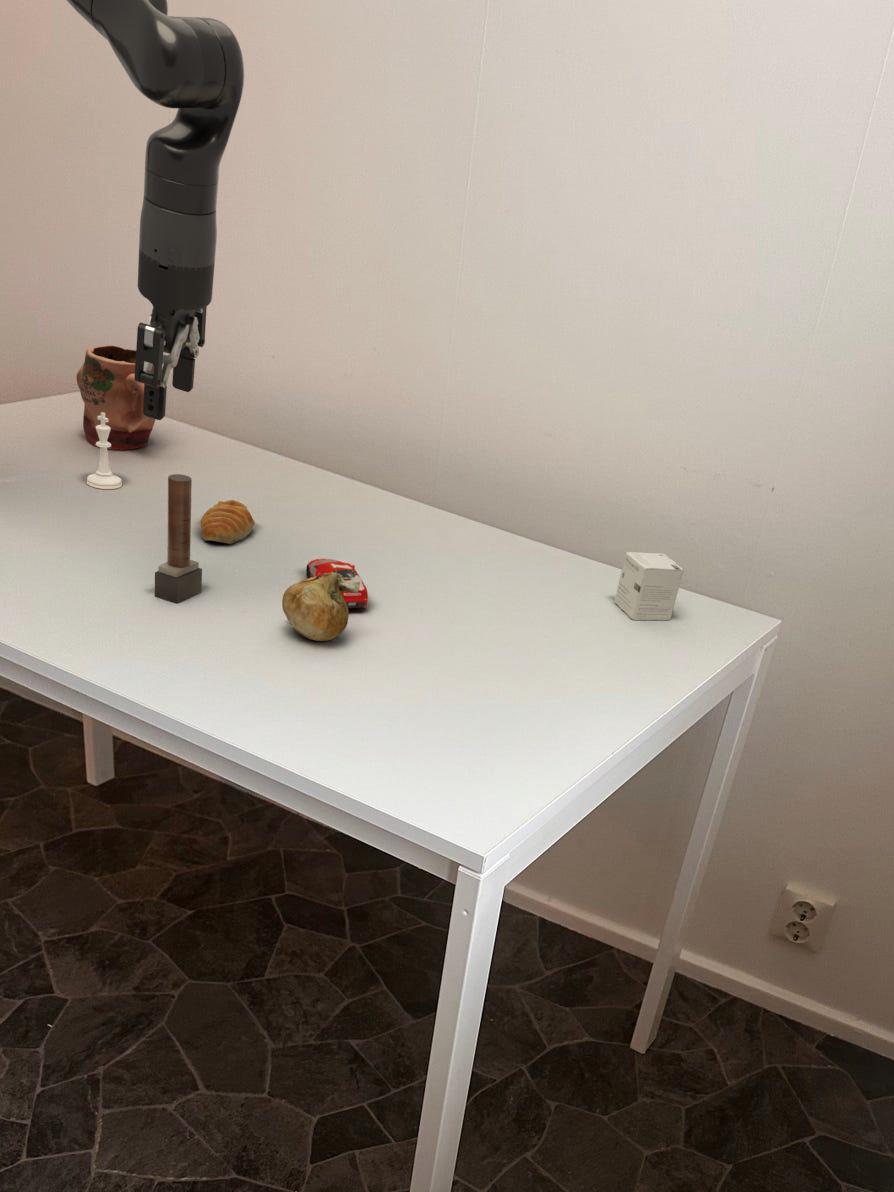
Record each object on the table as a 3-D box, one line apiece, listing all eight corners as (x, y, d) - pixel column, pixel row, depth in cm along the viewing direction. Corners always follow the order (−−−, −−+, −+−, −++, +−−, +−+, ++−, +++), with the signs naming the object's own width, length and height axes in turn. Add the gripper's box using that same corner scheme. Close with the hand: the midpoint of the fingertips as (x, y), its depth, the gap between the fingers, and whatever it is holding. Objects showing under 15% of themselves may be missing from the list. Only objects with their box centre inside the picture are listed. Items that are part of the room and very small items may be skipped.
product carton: (613, 602, 162) (624, 550, 158) (651, 603, 164) (664, 552, 160) (632, 620, 157) (644, 567, 153) (672, 621, 160) (685, 568, 156)
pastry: (239, 550, 157) (240, 522, 155) (189, 542, 157) (189, 514, 155) (256, 529, 165) (257, 502, 163) (208, 521, 165) (209, 494, 163)
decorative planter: (189, 461, 186) (190, 369, 179) (117, 466, 179) (116, 370, 171) (126, 425, 198) (125, 337, 190) (56, 429, 190) (52, 337, 183)
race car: (301, 574, 153) (303, 544, 151) (341, 574, 156) (344, 545, 153) (328, 614, 143) (331, 582, 141) (371, 614, 146) (374, 583, 143)
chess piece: (104, 491, 169) (102, 419, 163) (79, 482, 170) (76, 410, 165) (129, 485, 172) (128, 415, 167) (104, 476, 174) (102, 406, 169)
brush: (176, 603, 139) (178, 485, 132) (154, 596, 140) (154, 478, 133) (201, 592, 143) (204, 476, 136) (179, 585, 144) (181, 469, 137)
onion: (304, 617, 142) (309, 552, 137) (360, 637, 139) (367, 572, 135) (266, 634, 136) (270, 567, 132) (324, 656, 133) (330, 589, 129)
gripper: (167, 221, 125) (160, 371, 136) (113, 257, 115) (109, 416, 126) (235, 242, 126) (222, 390, 136) (187, 280, 115) (177, 437, 126)
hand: (168, 402), depth 131 cm, fingers open, 8 cm apart
